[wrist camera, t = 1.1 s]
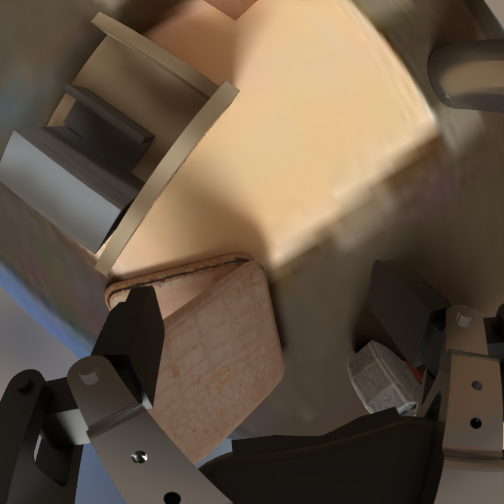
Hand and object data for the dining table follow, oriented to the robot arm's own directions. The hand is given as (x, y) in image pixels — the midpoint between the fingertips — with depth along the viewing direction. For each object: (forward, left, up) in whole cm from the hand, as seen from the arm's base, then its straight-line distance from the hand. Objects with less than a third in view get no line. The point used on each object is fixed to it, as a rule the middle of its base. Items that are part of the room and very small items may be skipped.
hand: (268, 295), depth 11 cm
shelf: (+2, -13, -24) cm, 27 cm away
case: (+19, +9, -24) cm, 32 cm away
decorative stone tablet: (+8, +42, -24) cm, 49 cm away
